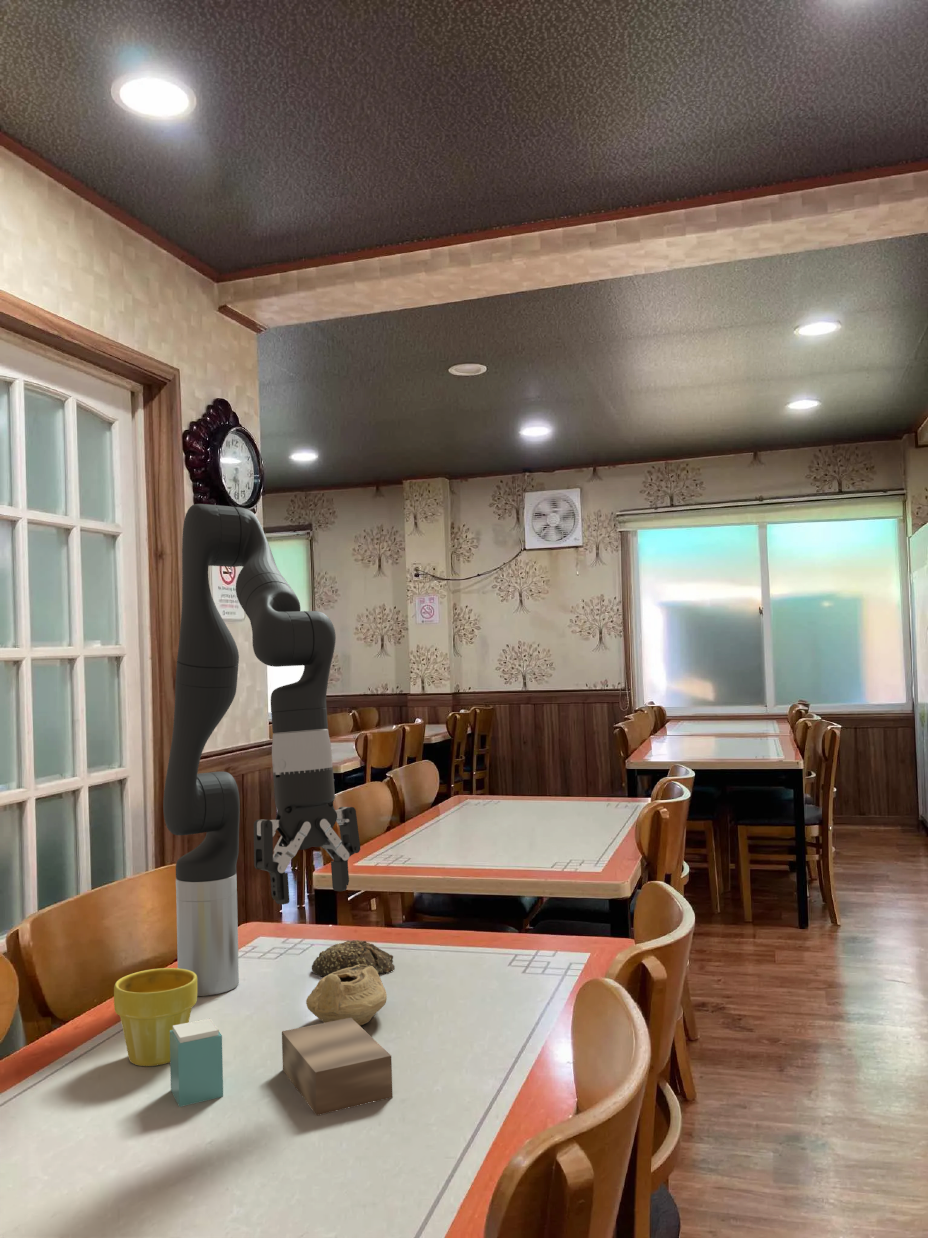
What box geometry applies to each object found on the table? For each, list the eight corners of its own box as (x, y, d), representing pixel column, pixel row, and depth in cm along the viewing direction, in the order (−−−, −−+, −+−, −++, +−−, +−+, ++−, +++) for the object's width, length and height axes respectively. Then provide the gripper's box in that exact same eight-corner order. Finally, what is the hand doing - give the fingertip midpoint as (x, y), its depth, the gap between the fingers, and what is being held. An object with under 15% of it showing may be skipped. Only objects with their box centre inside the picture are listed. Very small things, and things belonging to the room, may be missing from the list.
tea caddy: (170, 1090, 116) (169, 1025, 116) (213, 1081, 118) (211, 1017, 118) (179, 1107, 111) (177, 1039, 112) (223, 1097, 114) (221, 1030, 114)
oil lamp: (396, 1000, 144) (395, 945, 145) (379, 1040, 129) (377, 978, 130) (323, 1000, 145) (322, 946, 146) (297, 1040, 130) (296, 979, 131)
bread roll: (301, 975, 159) (300, 944, 159) (352, 955, 169) (351, 925, 169) (361, 988, 151) (360, 955, 152) (410, 966, 162) (409, 935, 162)
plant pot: (214, 1045, 129) (213, 970, 130) (166, 1077, 120) (165, 996, 120) (149, 1037, 133) (147, 964, 133) (97, 1068, 123) (95, 989, 123)
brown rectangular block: (282, 1072, 121) (281, 1031, 121) (352, 1057, 125) (351, 1017, 125) (316, 1118, 108) (315, 1072, 108) (392, 1100, 112) (391, 1055, 112)
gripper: (332, 762, 132) (341, 885, 130) (238, 773, 122) (246, 905, 121) (365, 761, 126) (375, 889, 125) (269, 772, 117) (278, 911, 115)
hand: (311, 897), depth 123 cm, fingers open, 8 cm apart
